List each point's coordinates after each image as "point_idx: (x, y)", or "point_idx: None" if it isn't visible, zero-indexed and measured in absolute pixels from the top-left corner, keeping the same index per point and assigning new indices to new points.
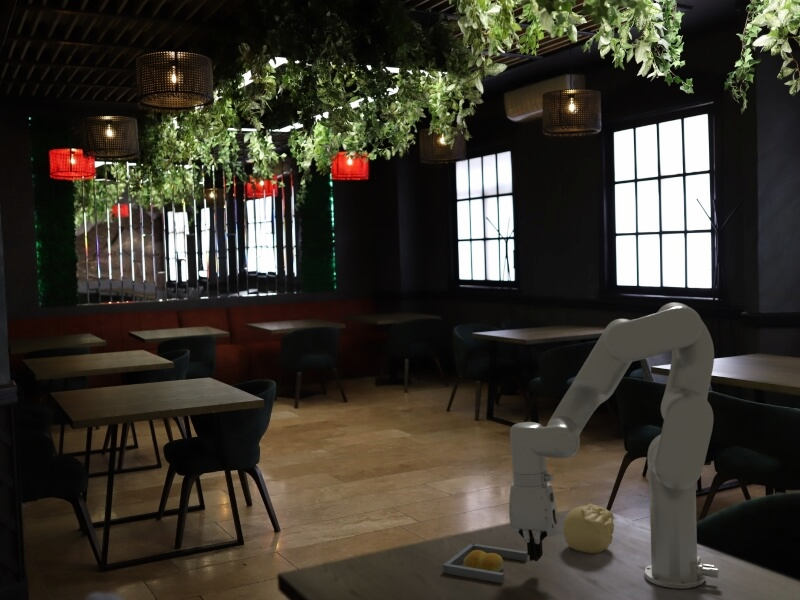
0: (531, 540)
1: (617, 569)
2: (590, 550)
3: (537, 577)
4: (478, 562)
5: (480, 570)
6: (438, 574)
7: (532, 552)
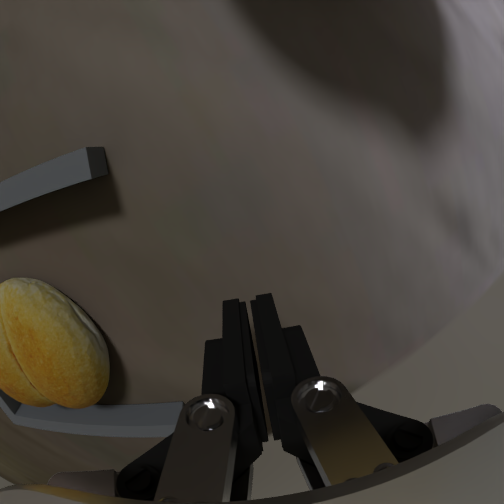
0: (258, 451)
1: (482, 82)
2: None
3: None
4: (52, 401)
5: (103, 432)
6: None
7: (261, 396)
